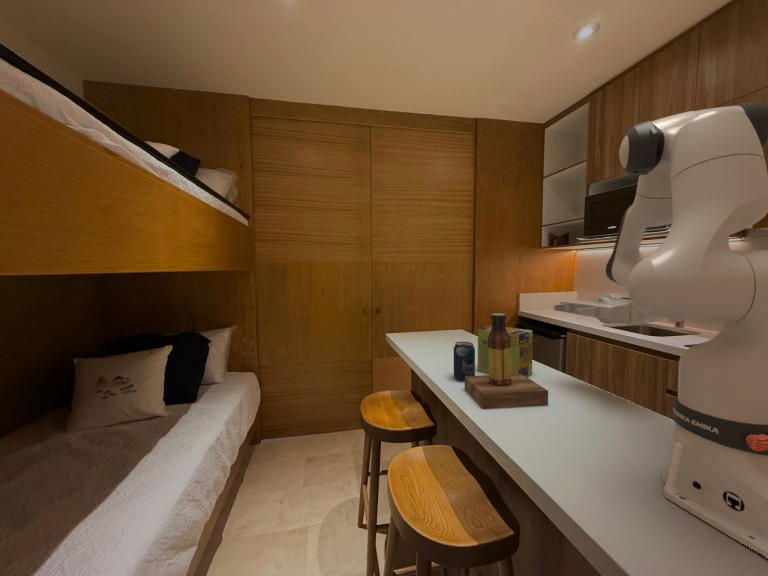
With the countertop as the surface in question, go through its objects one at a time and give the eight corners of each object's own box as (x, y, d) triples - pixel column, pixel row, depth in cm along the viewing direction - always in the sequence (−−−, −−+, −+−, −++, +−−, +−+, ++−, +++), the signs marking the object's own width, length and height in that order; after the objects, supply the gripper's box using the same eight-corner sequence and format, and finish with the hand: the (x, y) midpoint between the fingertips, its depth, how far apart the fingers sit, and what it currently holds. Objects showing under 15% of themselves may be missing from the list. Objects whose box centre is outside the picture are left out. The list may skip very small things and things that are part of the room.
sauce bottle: (508, 379, 95) (508, 312, 93) (514, 386, 88) (515, 315, 87) (485, 378, 95) (485, 312, 94) (490, 386, 89) (490, 315, 88)
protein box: (519, 382, 103) (519, 334, 102) (476, 371, 115) (477, 328, 114) (533, 374, 110) (533, 330, 109) (492, 365, 122) (492, 324, 121)
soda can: (467, 384, 102) (467, 347, 101) (449, 378, 107) (449, 343, 107) (479, 378, 107) (479, 343, 106) (461, 374, 112) (461, 340, 111)
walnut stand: (548, 405, 86) (548, 390, 85) (483, 408, 84) (483, 393, 84) (520, 386, 99) (521, 373, 99) (464, 389, 98) (464, 376, 98)
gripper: (584, 295, 102) (543, 296, 101) (642, 300, 82) (592, 301, 80) (584, 315, 102) (543, 315, 101) (641, 324, 82) (591, 326, 81)
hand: (565, 309), depth 91 cm, fingers open, 8 cm apart
